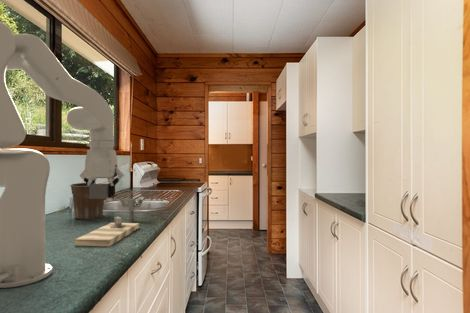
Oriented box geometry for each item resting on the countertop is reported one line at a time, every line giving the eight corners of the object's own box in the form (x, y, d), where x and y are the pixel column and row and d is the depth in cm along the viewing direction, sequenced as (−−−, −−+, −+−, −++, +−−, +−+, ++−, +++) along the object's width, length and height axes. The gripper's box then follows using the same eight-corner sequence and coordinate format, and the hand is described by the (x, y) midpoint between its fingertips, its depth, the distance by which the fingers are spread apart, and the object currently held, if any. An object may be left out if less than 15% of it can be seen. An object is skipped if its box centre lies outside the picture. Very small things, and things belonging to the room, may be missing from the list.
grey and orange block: (106, 198, 100) (106, 183, 100) (89, 198, 100) (89, 183, 100) (114, 196, 106) (114, 181, 106) (98, 196, 106) (98, 181, 106)
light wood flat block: (109, 246, 96) (109, 229, 96) (74, 245, 97) (74, 228, 97) (139, 228, 120) (139, 214, 120) (111, 227, 121) (111, 214, 121)
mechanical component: (140, 221, 131) (140, 199, 131) (119, 220, 133) (119, 199, 133) (143, 220, 134) (143, 198, 134) (123, 219, 136) (123, 198, 136)
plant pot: (109, 218, 138) (108, 184, 138) (70, 222, 130) (69, 186, 130) (105, 212, 152) (105, 181, 152) (70, 215, 145) (70, 183, 144)
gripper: (71, 145, 99) (71, 198, 99) (121, 145, 98) (121, 198, 99) (84, 146, 107) (84, 195, 107) (130, 146, 106) (130, 195, 106)
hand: (102, 196), depth 103 cm, fingers closed on grey and orange block, 6 cm apart
